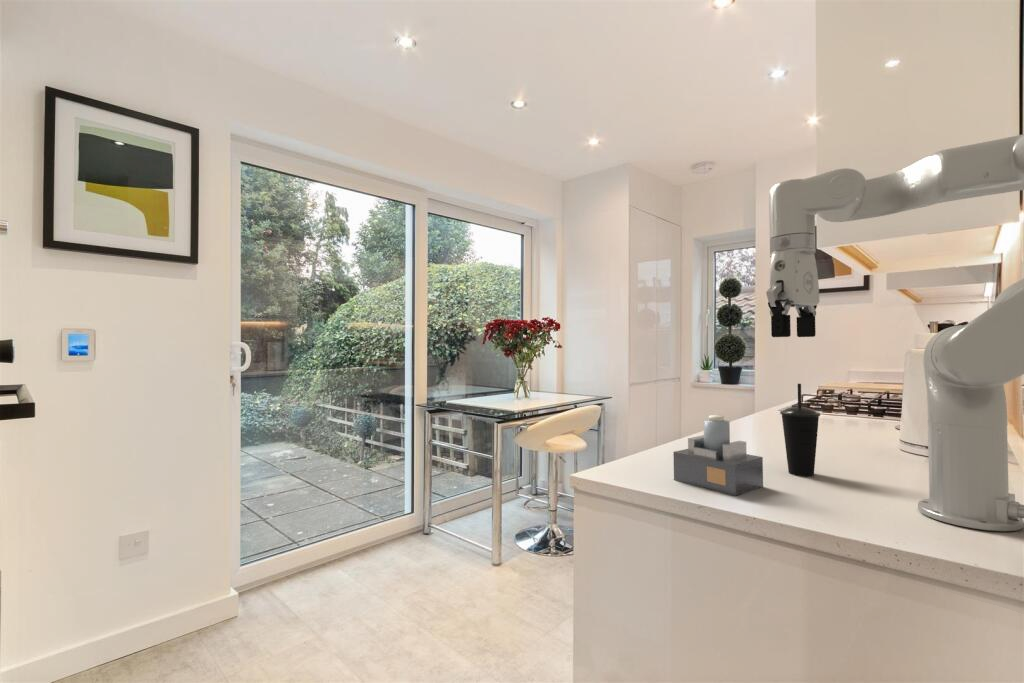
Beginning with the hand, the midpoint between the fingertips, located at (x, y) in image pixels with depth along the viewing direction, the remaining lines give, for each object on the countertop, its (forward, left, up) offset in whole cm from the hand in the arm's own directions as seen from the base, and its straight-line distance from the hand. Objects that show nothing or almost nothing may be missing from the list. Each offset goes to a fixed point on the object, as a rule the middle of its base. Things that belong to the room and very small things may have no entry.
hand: (793, 336), depth 92 cm
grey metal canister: (+14, +4, -24) cm, 28 cm away
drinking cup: (+7, -17, -31) cm, 36 cm away
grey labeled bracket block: (+14, +4, -30) cm, 34 cm away
